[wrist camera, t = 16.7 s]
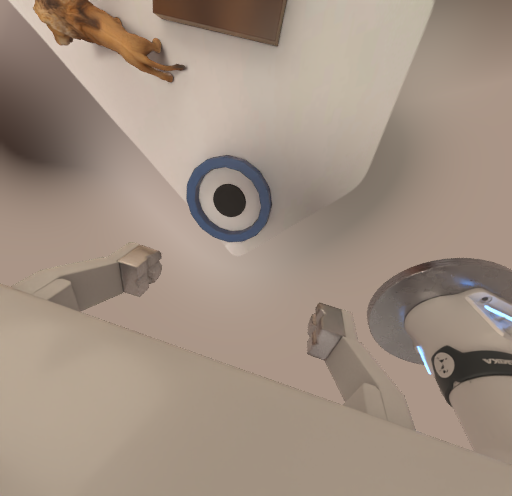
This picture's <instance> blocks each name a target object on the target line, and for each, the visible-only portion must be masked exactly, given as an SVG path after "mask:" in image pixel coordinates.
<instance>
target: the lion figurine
mask: <svg viewBox="0 0 512 496" xmlns="http://www.w3.org/2000/svg"><path fill="white" fill-rule="evenodd" d="M33 9H34V10H35V13H36V14H37V15H38V17H39V18H40V20H41V21H42V22H44V23H46V24H47V26H48V28H49V29H50V30H51V31H52V32H53V35H54V37H55V40H56V42H57V43H58V44H59V45H69V44H70V42H73V38H74V39H79V40H81V39H82V40H85V41H87V42H90V43H96V44H98V45H102V46H104V47H106V48H109V49H111V50H114V51H116V52H118V54H121V55H122V57H123V58H124V59H125V60H126V61H127V62H128V63H130V64H131V65H133V66H135V67H136V68H138V69H139V70H141V71H143V72H147V73H149V74H152V75H155V76H157V77H159V78H161V79H162V80H166V81H167V82H172V81H173V76H172V75H171V74H170V73H169V72H166V73H164V72H161V71H158V70H156V69H154V68H157V69H160V70H164V71H172V70H180V71H181V70H184V69H185V66H184V65H179V64H176V65H173V66H165V65H161V64H158V63H156V62H154V61H152V60H150V59H148V57H147V55H148V54H149V53H150V52H152V51H155V52H156V53H160V51H161V42H160V41H159V39H157V38H154V39H153V41H152V42H150V41H149V40H147V39H145V38H143V37H139V36H138V35H136V34H130V33H128V32H127V31H126V30H125V29H124V28H123V27H122V24H121V21H120V19H119V18H117V17H115V18H113V17H112V16H110V15H109V14H107V13H106V12H105V11H103V10H100V9H99V8H97V7H95V6H93V4H92V3H90V2H89V1H88V0H35V4H34V7H33ZM153 67H154V68H153Z"/></svg>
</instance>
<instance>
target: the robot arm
mask: <svg viewBox="0 0 512 496" xmlns="http://www.w3.org/2000/svg"><path fill="white" fill-rule="evenodd" d="M160 259H161V253H160V251H157V250H154V249H152V248H149V247H146V246H143V245H140V244H137V243H134V242H130V243H128V244H126V245H125V246H123V247H122V248H120V249H119V250H117V251H116V252H114V253H113V254H111V255H110V256H108V257H106V258H104V257H101V258H96V259H91V260H87V261H82V262H77V263H72V264H68V265H63V266H58V267H53V268H49V269H44V270H40V271H38V272H37V273H35V274H33V275H31V276H29V277H27V278H26V279H24V280H22V281H20V282H18V283H16V284H15V285H13V286H11V287H9V286H6V285H3V284H0V496H512V303H511V302H509V301H507V300H505V299H503V298H501V297H499V296H497V295H495V294H493V293H491V292H489V291H487V290H485V289H483V288H474V289H470V290H467V291H465V292H462V293H459V294H454V295H445V296H439V297H435V298H432V299H429V300H426V301H424V302H422V303H420V304H419V305H417V306H416V307H414V308H413V309H412V310H411V311H410V312H409V313H408V315H407V316H406V318H405V322H404V327H405V330H406V332H407V334H408V335H409V336H410V338H411V339H412V341H413V347H414V349H415V351H416V352H417V353H420V355H421V357H422V359H423V362H424V364H425V366H426V368H427V371H428V373H429V374H431V373H432V374H433V376H434V378H435V379H436V381H437V383H438V385H439V388H440V391H441V393H442V395H443V396H444V397H445V399H446V401H447V403H448V404H449V405H450V406H451V407H453V409H454V411H455V413H456V415H457V417H458V419H459V421H460V424H461V425H462V428H463V429H464V432H465V434H466V436H467V438H468V440H469V442H470V444H471V446H472V448H473V450H474V451H471V450H468V449H465V448H463V447H460V446H457V445H454V444H451V443H448V442H446V441H443V440H440V439H437V438H434V437H431V436H428V435H426V434H423V433H420V432H417V431H416V429H415V427H414V424H413V420H412V417H411V414H410V411H409V408H408V405H407V402H406V399H405V396H404V395H403V393H402V392H401V391H400V390H399V388H398V387H397V386H396V385H395V383H394V382H393V381H392V380H391V379H390V377H389V376H388V375H387V373H386V372H385V371H384V370H383V369H382V367H381V366H380V365H379V364H378V362H377V361H376V360H375V359H374V358H373V356H372V355H371V354H370V352H369V351H368V350H367V349H366V347H365V346H364V345H363V344H362V343H361V342H358V337H357V333H356V328H355V324H354V319H353V314H352V313H351V312H349V311H346V310H342V309H338V308H335V307H332V306H329V305H326V304H322V303H319V304H318V305H317V307H316V313H314V314H312V316H311V318H310V321H309V325H308V335H309V336H310V338H309V340H308V341H307V354H308V355H311V356H314V357H316V358H319V359H322V360H325V363H326V365H327V366H328V369H329V371H330V373H331V374H332V376H333V379H334V380H335V383H336V385H337V387H338V389H339V391H340V393H341V395H342V397H343V399H344V401H345V403H344V404H343V405H341V404H339V403H336V402H333V401H330V400H327V399H324V398H321V397H319V396H316V395H313V394H310V393H307V392H305V391H302V390H299V389H296V388H294V387H291V386H288V385H285V384H282V383H279V382H276V381H274V380H271V379H268V378H265V377H262V376H260V375H257V374H254V373H251V372H248V371H245V370H243V369H240V368H237V367H234V366H231V365H228V364H226V363H223V362H220V361H217V360H214V359H212V358H209V357H206V356H203V355H200V354H197V353H195V352H192V351H189V350H186V349H183V348H181V347H178V346H175V345H172V344H169V343H167V342H164V341H161V340H158V339H155V338H152V337H150V336H147V335H144V334H141V333H138V332H136V331H133V330H129V329H127V328H124V327H121V326H118V325H116V324H113V323H110V322H107V321H105V320H102V319H99V318H96V317H93V316H90V315H88V314H85V313H82V312H81V311H82V310H85V309H87V308H89V307H92V306H94V305H97V304H99V303H101V302H103V301H106V300H108V299H110V298H113V297H115V296H117V295H119V294H122V293H123V292H125V293H129V294H132V295H135V296H138V297H140V296H141V295H142V294H143V293H144V292H145V291H146V290H147V289H148V288H149V284H151V283H154V282H155V281H156V280H157V279H158V277H159V276H160V274H161V270H162V265H161V264H160V262H159V260H160ZM428 368H429V369H430V371H431V373H430V371H429V369H428Z"/></svg>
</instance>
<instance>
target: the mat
mask: <svg viewBox="0 0 512 496" xmlns="http://www.w3.org/2000/svg"><path fill="white" fill-rule="evenodd" d="M213 200H214V205H215V207H216V209H217V210H218V211H219V212H220V213H221V214H223V215H225V216H228V217H235V216H238V215H239V214H241V213H242V211H243V210H244V208H245V204H246V201H245V197H244V194H243V193H242V191H241V190H240V189H239V188H238V187H236V186H234V185H231V184H225V185H222V186H220V187H219V188H217V189H216V191H215V193H214V197H213Z"/></svg>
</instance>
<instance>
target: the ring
mask: <svg viewBox="0 0 512 496" xmlns="http://www.w3.org/2000/svg"><path fill="white" fill-rule="evenodd" d="M223 167H227V168H230V169H234V170H237V171H240V172H241V173H242V174H244V175H245V176H246V177H247V178H249V179H250V180H251V181H252V182H253V184H254V186H255V187H256V189H257V191H258V193H259V197H260V203H261V209H260V213H259V218H258V219H257V220H256V222H255V223H254V224H253V225H252V226H250V227H248V228H246V229H244V230H242V231H228V230H225V229H222V228H219V227H218V226H216V225H215V224H214V223H212V222H211V221H210V220H209V219H208V218H207V216H206V215H205V213H204V212H203V211H202V208H201V205H200V202H199V198H198V197H199V185H200V183H201V182H202V180H203V178H204V176H205V175H206V174H207V173H208V172H210V171H211V170H213V169H216V168H223ZM259 172H260V171H259V170H257V169H256V168H255V167H254V166H252V165H251V164H250V163H249V162H247V161H245V160H244V159H240V158H237V157H233V156H229V155H225V156H219V157H213V158H210V159H207V160H206V161H205V162H203V163H202V164H201V165H199V166H198V167H196V168H195V169H194V171H193V173H192V175H191V177H190V179H189V181H188V184H187V202H188V206H189V208H190V212H191V214H192V216H193V218H194V219H195V220H196V222H197V223H198V225H199V226H200V227H201V228H202V229H203V230H205V231H206V232H207V233H209V234H210V235H212V236H213V237H215V238H217V239H221V240H224V241H227V242H241V241H245V240H247V239H249V238H251V237H254V236H256V235H257V234H258V233H259V232H260V230H261V229H262V228H263V227H264V226H265V224H266V223H267V221H268V217H269V214H270V210H271V206H272V202H271V195H270V188H269V186H268V185H267V183H266V181H265V179H264V178H263V176H262V174H261V173H259Z"/></svg>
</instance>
